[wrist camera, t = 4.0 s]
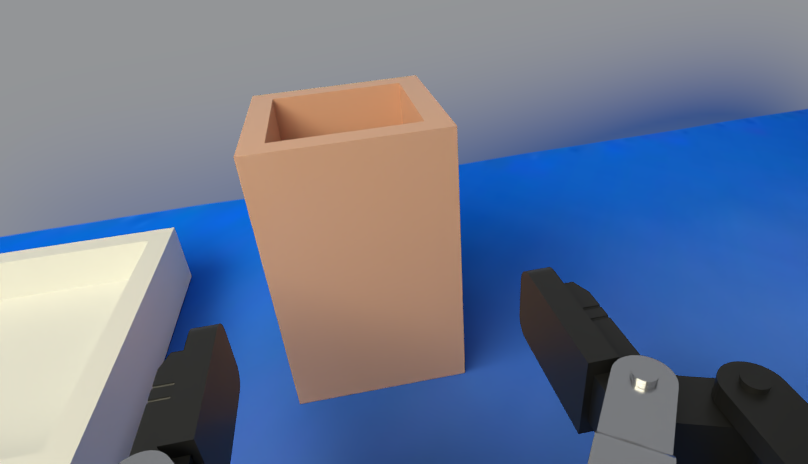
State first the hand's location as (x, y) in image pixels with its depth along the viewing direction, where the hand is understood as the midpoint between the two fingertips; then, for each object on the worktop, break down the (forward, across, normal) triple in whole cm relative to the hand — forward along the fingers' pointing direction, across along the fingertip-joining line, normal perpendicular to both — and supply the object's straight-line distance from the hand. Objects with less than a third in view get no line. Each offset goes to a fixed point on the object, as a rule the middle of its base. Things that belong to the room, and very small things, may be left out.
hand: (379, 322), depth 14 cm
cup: (+6, 0, +6) cm, 9 cm away
